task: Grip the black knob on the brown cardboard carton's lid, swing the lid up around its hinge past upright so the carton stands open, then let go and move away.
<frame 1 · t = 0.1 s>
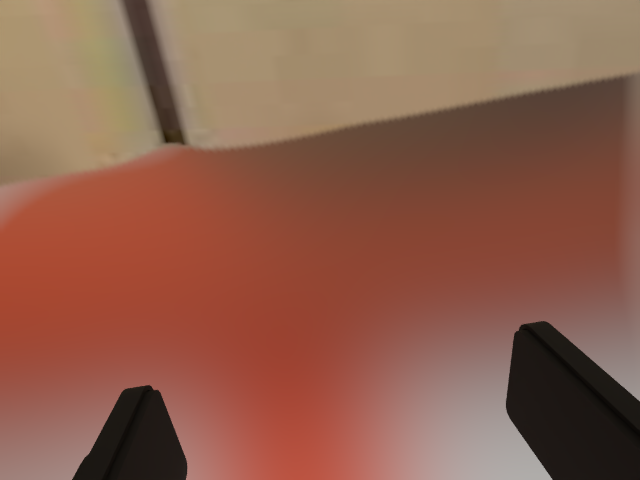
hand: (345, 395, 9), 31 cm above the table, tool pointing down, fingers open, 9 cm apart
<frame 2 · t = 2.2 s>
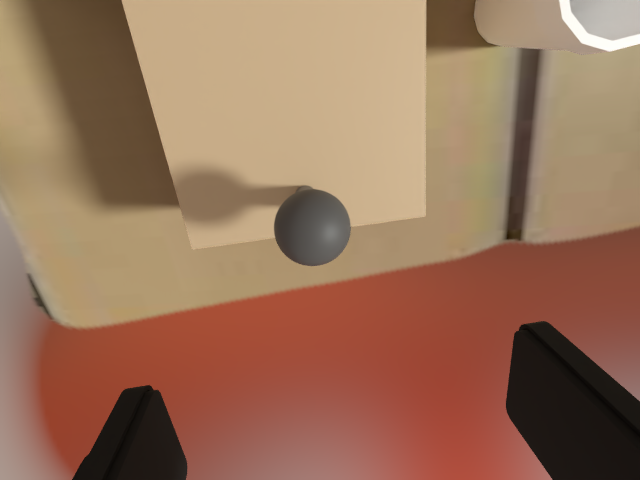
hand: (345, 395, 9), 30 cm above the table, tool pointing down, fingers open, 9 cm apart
carton lid: (293, 96, 20), point 15 cm above the table, hinge at 0.0°
foam cup: (505, 7, 33), on the table
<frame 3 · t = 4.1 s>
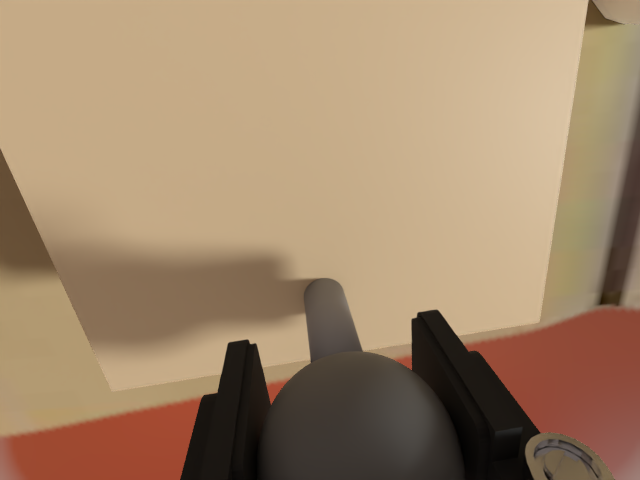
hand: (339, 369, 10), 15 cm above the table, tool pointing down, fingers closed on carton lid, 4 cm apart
carton lid: (308, 114, 8), point 15 cm above the table, hinge at 0.0°, touching gripper
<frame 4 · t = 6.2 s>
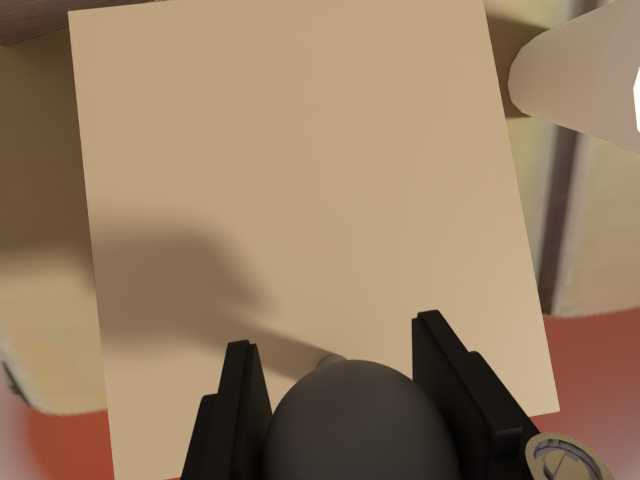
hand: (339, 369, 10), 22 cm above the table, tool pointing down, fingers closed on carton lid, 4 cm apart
carton lid: (311, 187, 11), point 19 cm above the table, hinge at 27.1°, touching gripper
foam cup: (543, 75, 29), on the table
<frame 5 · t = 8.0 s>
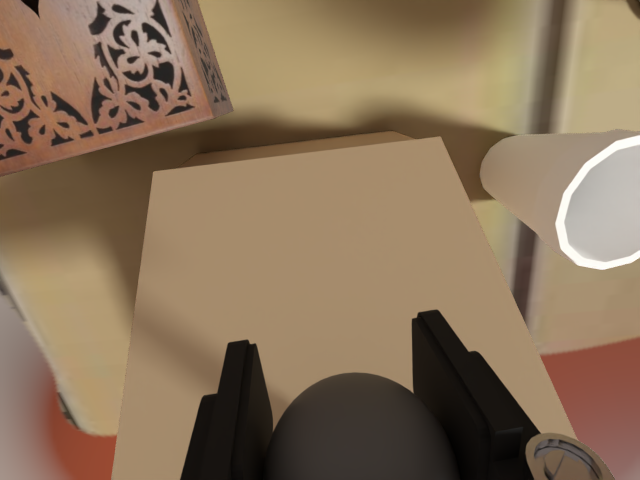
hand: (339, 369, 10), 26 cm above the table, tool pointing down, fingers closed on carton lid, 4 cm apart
carton lid: (320, 261, 14), point 21 cm above the table, hinge at 54.3°, touching gripper
foam cup: (509, 167, 36), on the table
carton: (308, 241, 37), on the table
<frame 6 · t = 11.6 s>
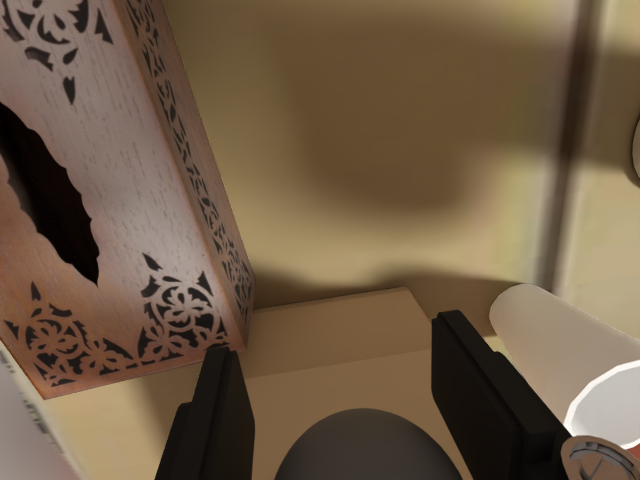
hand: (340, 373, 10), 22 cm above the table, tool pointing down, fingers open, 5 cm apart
carton lid: (340, 410, 15), point 19 cm above the table, hinge at 100.7°
tissue box cover: (125, 166, 29), on the table
foam cup: (516, 308, 38), on the table
carton: (328, 377, 39), on the table
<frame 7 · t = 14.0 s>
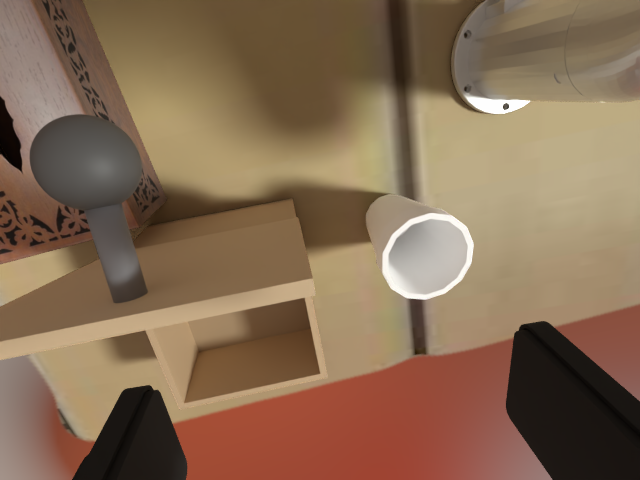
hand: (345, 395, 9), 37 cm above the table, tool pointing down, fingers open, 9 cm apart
carton lid: (157, 204, 24), point 19 cm above the table, hinge at 100.7°
tissue box cover: (54, 103, 38), on the table
foam cup: (388, 216, 48), on the table
carton: (240, 281, 48), on the table
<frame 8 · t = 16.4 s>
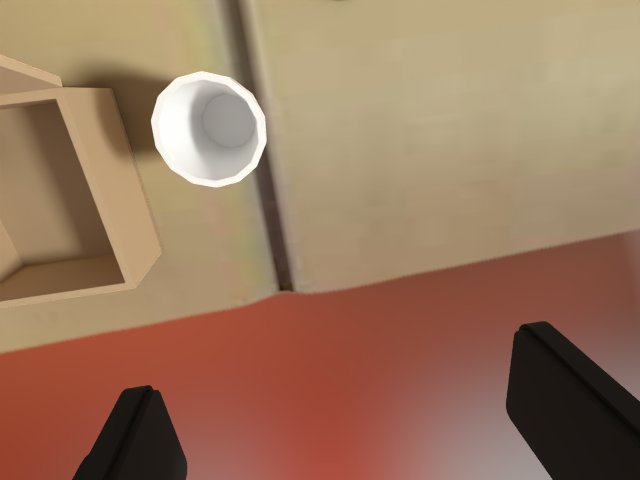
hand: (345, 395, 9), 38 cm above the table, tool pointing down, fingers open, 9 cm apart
foam cup: (230, 121, 43), on the table
carton: (64, 186, 43), on the table
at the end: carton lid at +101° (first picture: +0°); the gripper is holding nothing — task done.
